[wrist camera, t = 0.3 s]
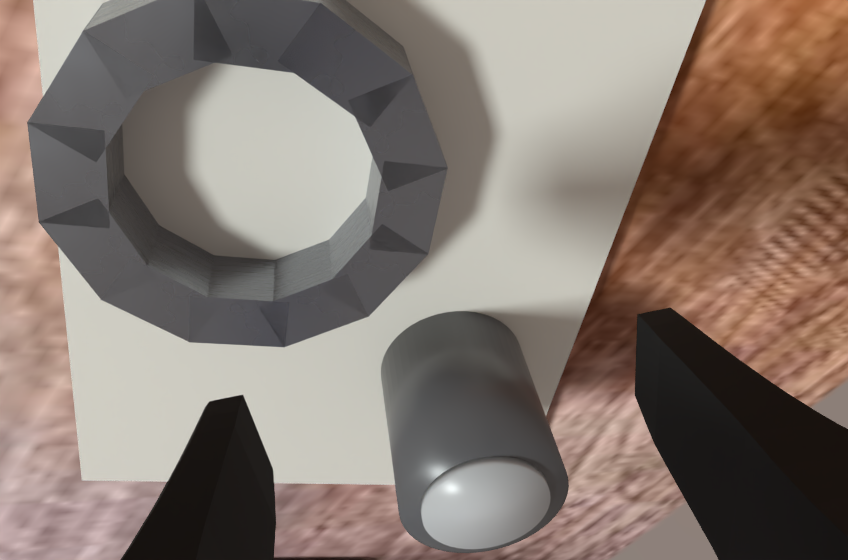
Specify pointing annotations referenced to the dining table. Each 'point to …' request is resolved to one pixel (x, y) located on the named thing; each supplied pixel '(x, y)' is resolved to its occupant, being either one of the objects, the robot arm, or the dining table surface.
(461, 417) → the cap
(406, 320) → the board
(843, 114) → the dining table surface
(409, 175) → the grey faceted ring
